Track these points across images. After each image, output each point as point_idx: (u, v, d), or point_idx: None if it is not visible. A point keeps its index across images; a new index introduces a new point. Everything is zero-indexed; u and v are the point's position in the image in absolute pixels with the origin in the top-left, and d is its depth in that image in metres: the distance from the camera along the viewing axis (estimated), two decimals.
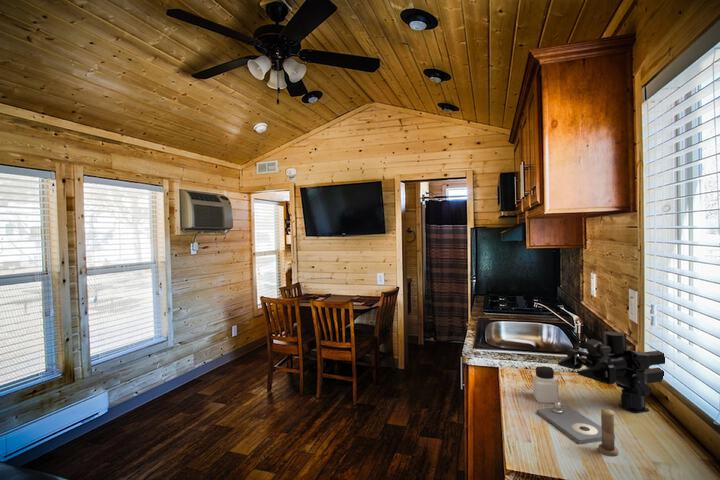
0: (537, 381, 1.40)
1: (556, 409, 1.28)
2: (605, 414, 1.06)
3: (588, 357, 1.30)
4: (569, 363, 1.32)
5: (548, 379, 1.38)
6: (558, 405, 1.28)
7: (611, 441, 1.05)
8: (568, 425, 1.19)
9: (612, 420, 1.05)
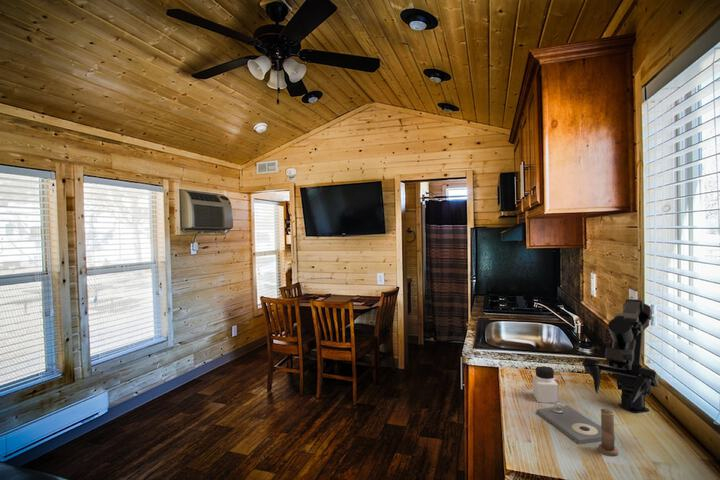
0: (537, 381, 1.40)
1: (556, 409, 1.28)
2: (605, 414, 1.06)
3: (611, 363, 1.16)
4: (598, 379, 1.18)
5: (548, 379, 1.38)
6: (558, 405, 1.28)
7: (611, 441, 1.05)
8: (568, 425, 1.19)
9: (612, 420, 1.05)
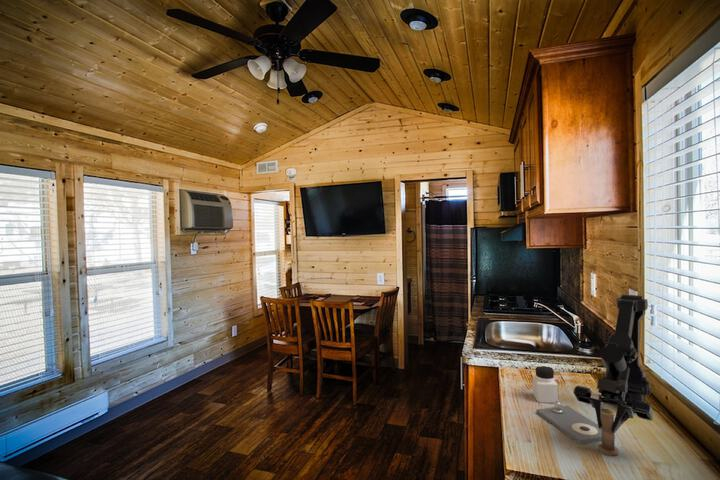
0: (537, 381, 1.40)
1: (556, 409, 1.28)
2: (605, 414, 1.06)
3: (603, 393, 1.10)
4: None
5: (548, 379, 1.38)
6: (558, 405, 1.28)
7: (611, 441, 1.05)
8: (568, 425, 1.19)
9: (612, 420, 1.05)
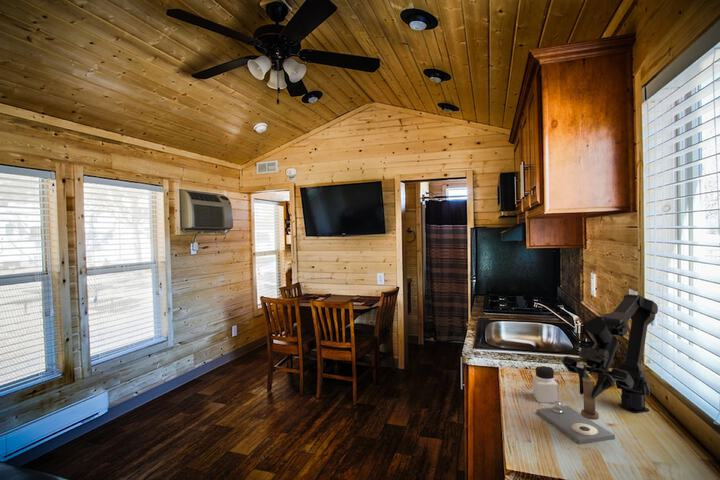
0: (537, 381, 1.40)
1: (556, 409, 1.28)
2: (586, 381, 1.13)
3: (588, 363, 1.17)
4: None
5: (548, 379, 1.38)
6: (558, 405, 1.28)
7: (591, 406, 1.13)
8: (568, 425, 1.19)
9: (592, 386, 1.12)
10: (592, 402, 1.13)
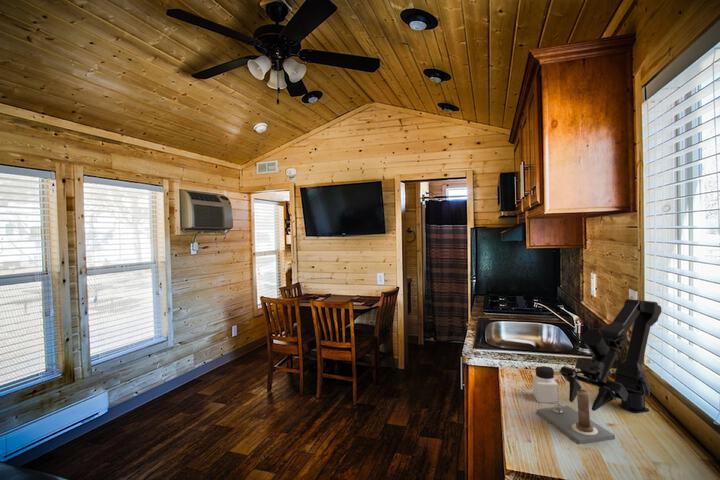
0: (537, 381, 1.40)
1: (556, 409, 1.28)
2: (579, 394, 1.16)
3: (585, 374, 1.20)
4: (576, 389, 1.21)
5: (548, 379, 1.38)
6: (558, 405, 1.28)
7: (585, 418, 1.15)
8: (568, 425, 1.19)
9: (586, 399, 1.15)
10: (586, 415, 1.15)
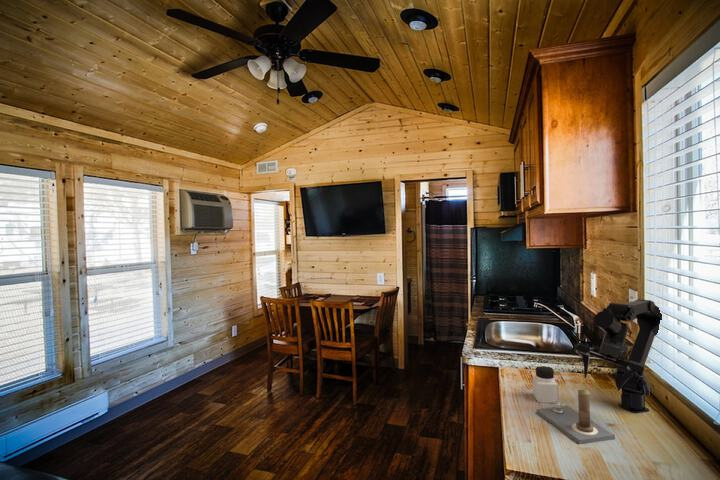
0: (537, 381, 1.40)
1: (556, 409, 1.28)
2: (580, 394, 1.16)
3: (603, 352, 1.23)
4: (588, 364, 1.25)
5: (548, 379, 1.38)
6: (558, 405, 1.28)
7: (586, 419, 1.15)
8: (568, 425, 1.19)
9: (587, 400, 1.15)
10: (586, 415, 1.15)
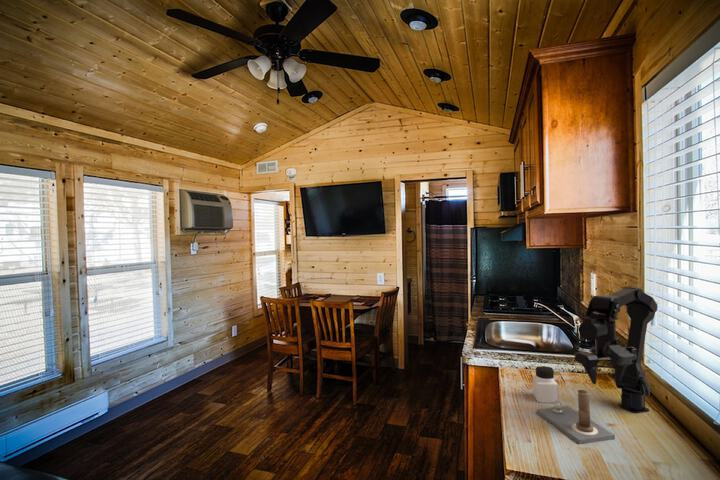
0: (537, 381, 1.40)
1: (556, 409, 1.28)
2: (580, 394, 1.16)
3: None
4: None
5: (548, 379, 1.38)
6: (558, 405, 1.28)
7: (586, 419, 1.15)
8: (568, 425, 1.19)
9: (587, 400, 1.15)
10: (586, 415, 1.15)
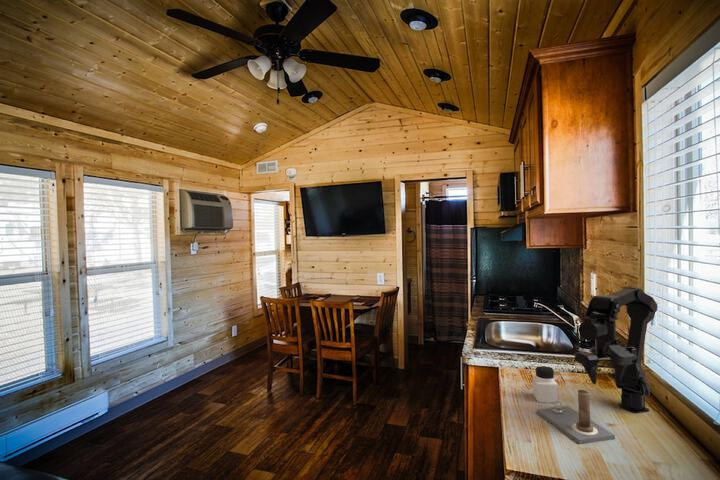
0: (537, 381, 1.40)
1: (556, 409, 1.28)
2: (580, 394, 1.16)
3: None
4: None
5: (548, 379, 1.38)
6: (558, 405, 1.28)
7: (586, 419, 1.15)
8: (568, 425, 1.19)
9: (587, 400, 1.15)
10: (586, 415, 1.15)
